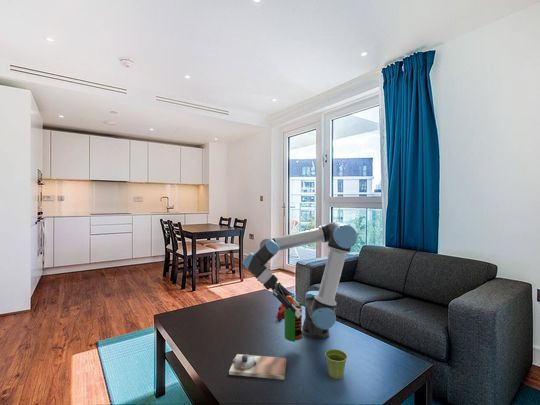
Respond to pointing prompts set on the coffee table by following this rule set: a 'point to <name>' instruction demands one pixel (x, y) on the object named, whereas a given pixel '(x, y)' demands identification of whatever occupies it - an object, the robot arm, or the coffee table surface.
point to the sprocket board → (258, 366)
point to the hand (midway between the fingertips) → (300, 312)
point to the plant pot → (336, 362)
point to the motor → (293, 323)
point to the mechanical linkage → (281, 312)
